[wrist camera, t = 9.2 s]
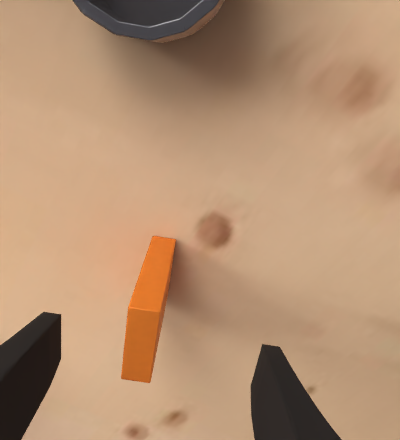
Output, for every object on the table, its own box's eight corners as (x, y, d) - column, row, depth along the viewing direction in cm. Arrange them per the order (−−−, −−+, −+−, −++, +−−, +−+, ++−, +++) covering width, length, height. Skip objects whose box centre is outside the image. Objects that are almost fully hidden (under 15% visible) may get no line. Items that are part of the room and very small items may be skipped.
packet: (176, 239, 23) (160, 312, 16) (167, 296, 25) (150, 383, 18) (152, 235, 23) (128, 307, 16) (145, 293, 24) (120, 379, 18)
